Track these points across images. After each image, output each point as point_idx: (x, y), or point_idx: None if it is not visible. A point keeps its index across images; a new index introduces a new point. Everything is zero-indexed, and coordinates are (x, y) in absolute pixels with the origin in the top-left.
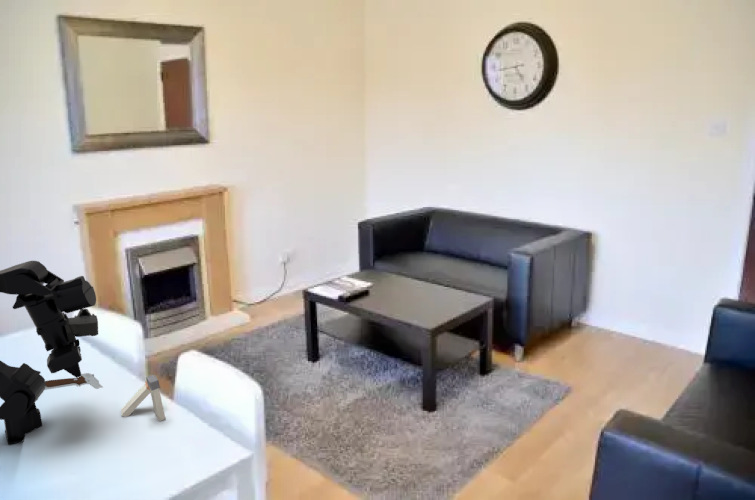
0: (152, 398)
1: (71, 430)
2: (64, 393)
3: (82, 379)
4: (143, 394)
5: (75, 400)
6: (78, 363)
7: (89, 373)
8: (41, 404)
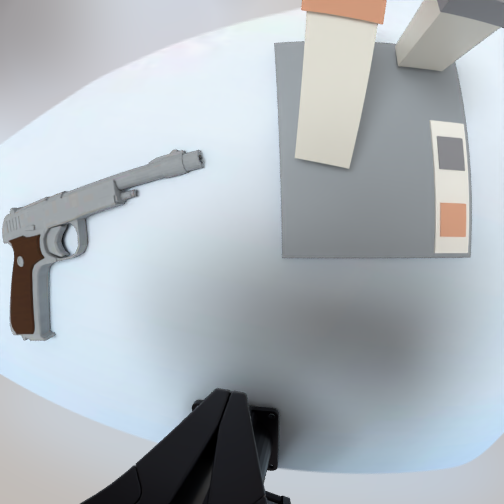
0: (438, 38)
1: (294, 335)
2: (56, 294)
3: (24, 243)
4: (372, 52)
5: (101, 279)
6: (189, 461)
7: (5, 218)
8: (91, 359)
